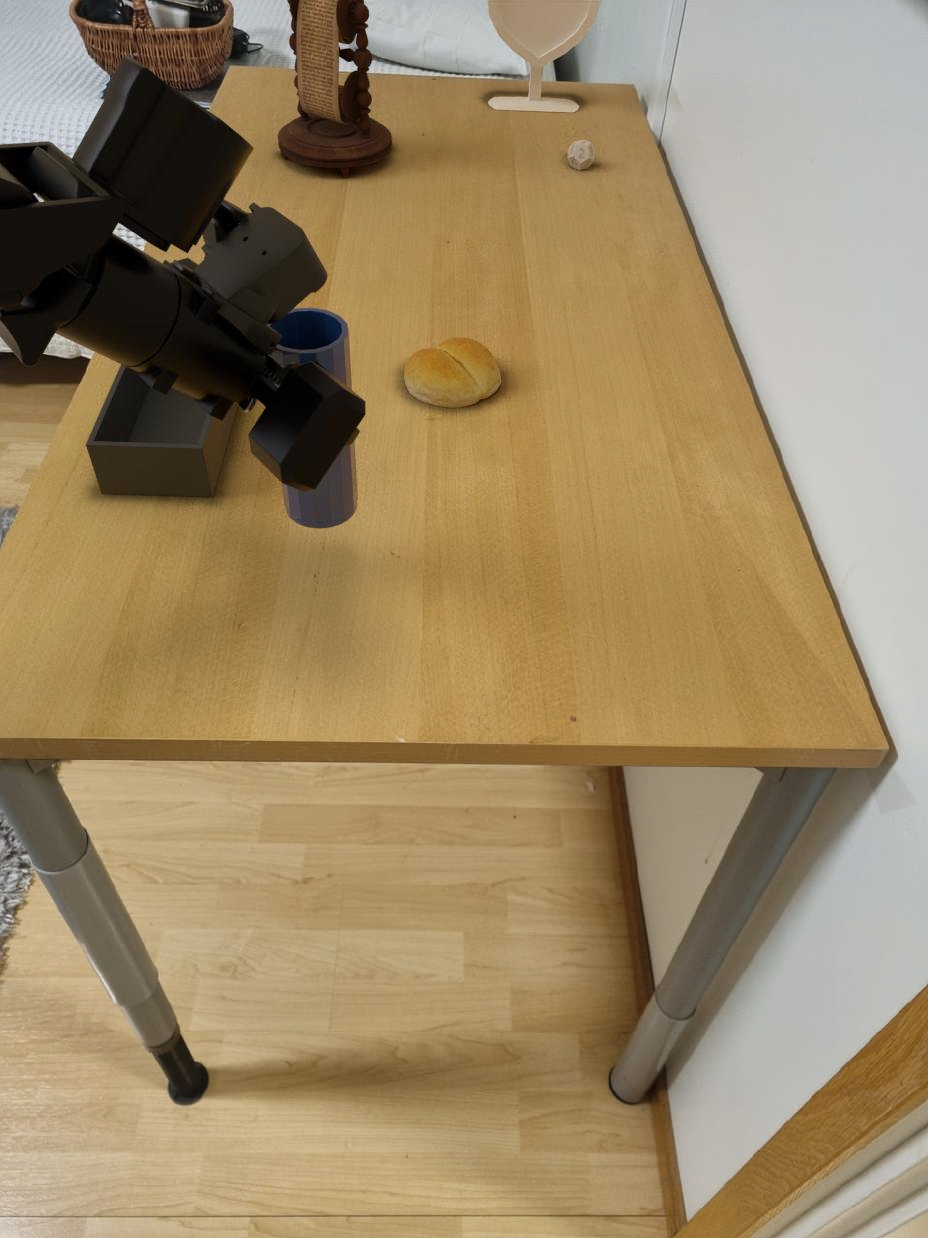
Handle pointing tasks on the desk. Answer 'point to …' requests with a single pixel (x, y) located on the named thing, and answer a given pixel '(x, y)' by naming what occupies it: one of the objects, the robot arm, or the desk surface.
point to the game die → (581, 154)
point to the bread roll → (452, 373)
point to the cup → (328, 344)
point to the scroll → (332, 89)
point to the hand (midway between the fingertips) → (331, 416)
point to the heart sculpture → (540, 42)
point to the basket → (156, 441)
